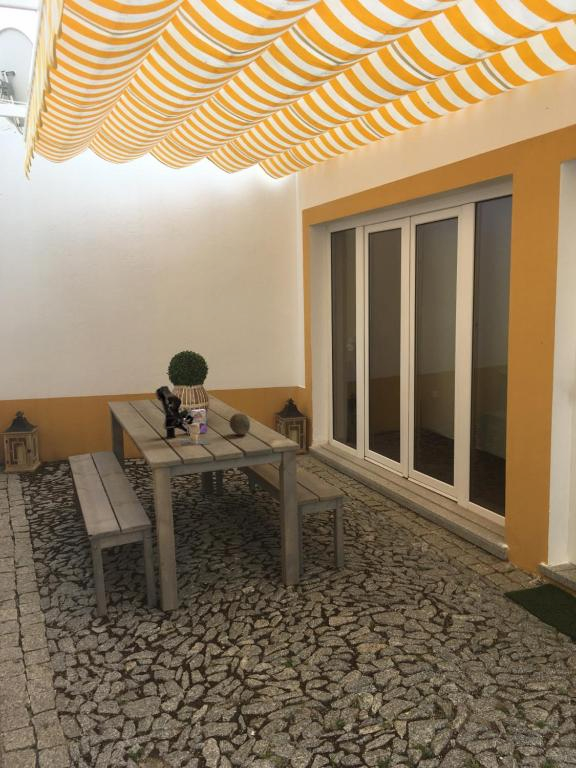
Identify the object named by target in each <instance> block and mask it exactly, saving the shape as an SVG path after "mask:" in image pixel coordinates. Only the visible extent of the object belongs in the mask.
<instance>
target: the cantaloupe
mask: <svg viewBox="0 0 576 768" xmlns="http://www.w3.org/2000/svg"><path fill="white" fill-rule="evenodd" d="M228 423H229V427H230V429H231V431H233V433H235V434H237V435H239V436H245V435H246V434H248V432H250V428H251V421H250V420H249V417H248V416H247V415H246V414H245V413H244V414H243V413H235V414H233V415H232V416H231V417H230V419H229V422H228Z"/></svg>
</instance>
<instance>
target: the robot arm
mask: <svg viewBox="0 0 576 768" xmlns="http://www.w3.org/2000/svg"><path fill="white" fill-rule="evenodd" d="M154 395H155V397H156V399H157V400H158V401H159V402H160V403H161V407H162V410H163V413H164V417H165V418H164V421H163V424H162V426H163V429H164V430H165V431H166V435H165V438H166V439H175V438H176V429H179V430H182V431H184V432H185V433H186V432H187V431H188V430H187V428H186V425H185V424H184V422H185V423H186V422H187V424H188V425H190V424H193V423H194V421H193V419H194V417H195V416H194V415H193V414H190V415H188V416H187V414H189V413H191V411H192V410H193V409H192V408H190V407H187V408H186V409H185V410H183V409H182V410H181V408H180V407H181V405H182V403H183V402H182V401H183V400H182V399H180V398H179V397H178V395H176V394H173V393H172V392H171V390H170V389H169V386H167V385H163V386H160V387H158V388H157V389H156V390H155V394H154ZM186 416H187V417H186Z"/></svg>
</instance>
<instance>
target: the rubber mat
mask: <svg viewBox="0 0 576 768" xmlns="http://www.w3.org/2000/svg"><path fill="white" fill-rule="evenodd" d="M201 440H202V442H201ZM181 444H182V447H186V446H187V445H190V446H202V445H201V444H205V445H211V441H210V439H209V438H200V442H198V443H190V439H187V440H186V439H184V440H183V439H182V440H181ZM187 447H188V446H187Z"/></svg>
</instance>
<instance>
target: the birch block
mask: <svg viewBox="0 0 576 768" xmlns="http://www.w3.org/2000/svg"><path fill="white" fill-rule="evenodd" d="M200 434H201V433H200V430H199V424H196V423H193V424H190V435H189V440H190V443H198V442H200V439H201V438H200V437H201V436H200Z"/></svg>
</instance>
